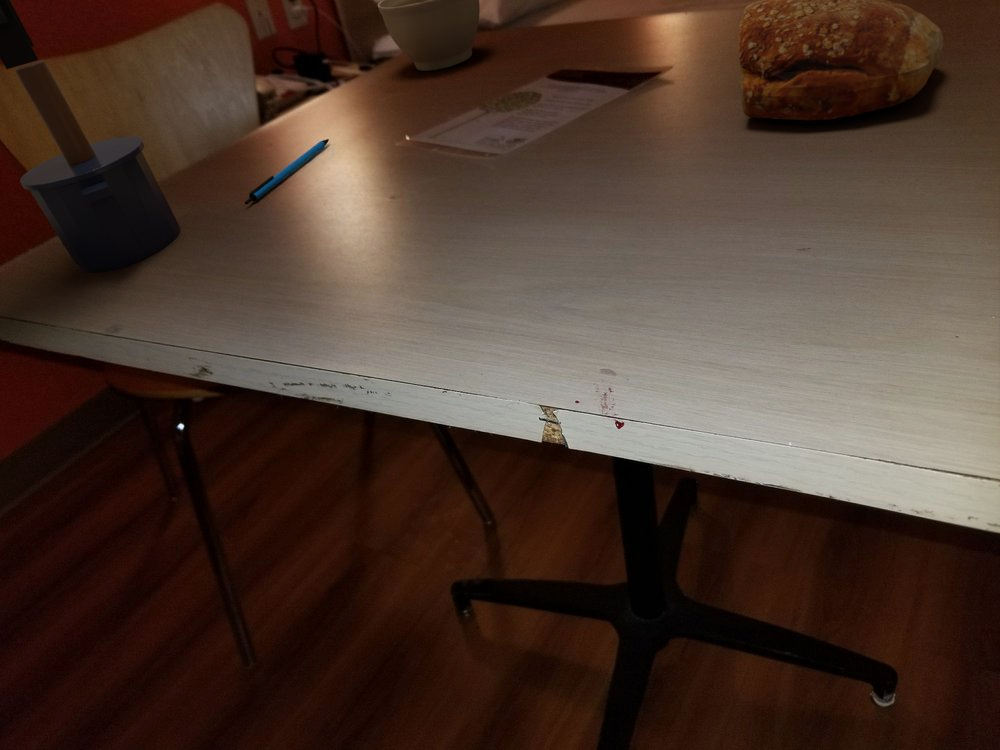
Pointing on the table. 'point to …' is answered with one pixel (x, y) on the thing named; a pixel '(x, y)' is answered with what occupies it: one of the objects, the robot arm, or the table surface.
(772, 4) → the bread
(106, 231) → the pot
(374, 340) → the table surface
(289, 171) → the pen
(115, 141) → the lid
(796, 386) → the table surface
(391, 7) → the planter bowl
